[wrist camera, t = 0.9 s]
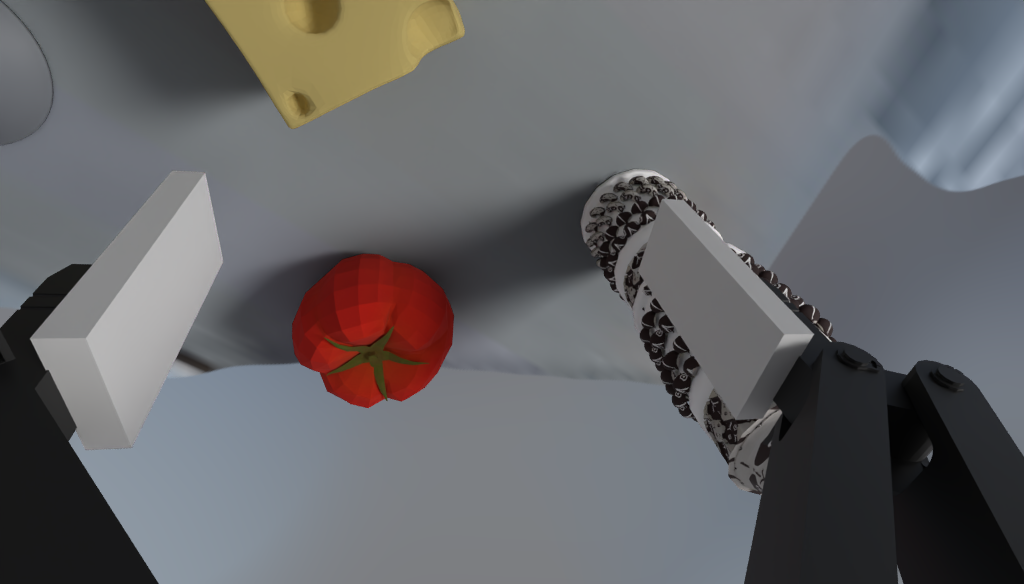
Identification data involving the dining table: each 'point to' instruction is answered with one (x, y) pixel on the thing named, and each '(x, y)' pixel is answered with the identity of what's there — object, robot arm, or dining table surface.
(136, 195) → the dining table surface
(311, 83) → the cheese
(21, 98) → the disc
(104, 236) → the dining table surface
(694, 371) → the decorative candle
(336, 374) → the tomato
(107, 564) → the robot arm
